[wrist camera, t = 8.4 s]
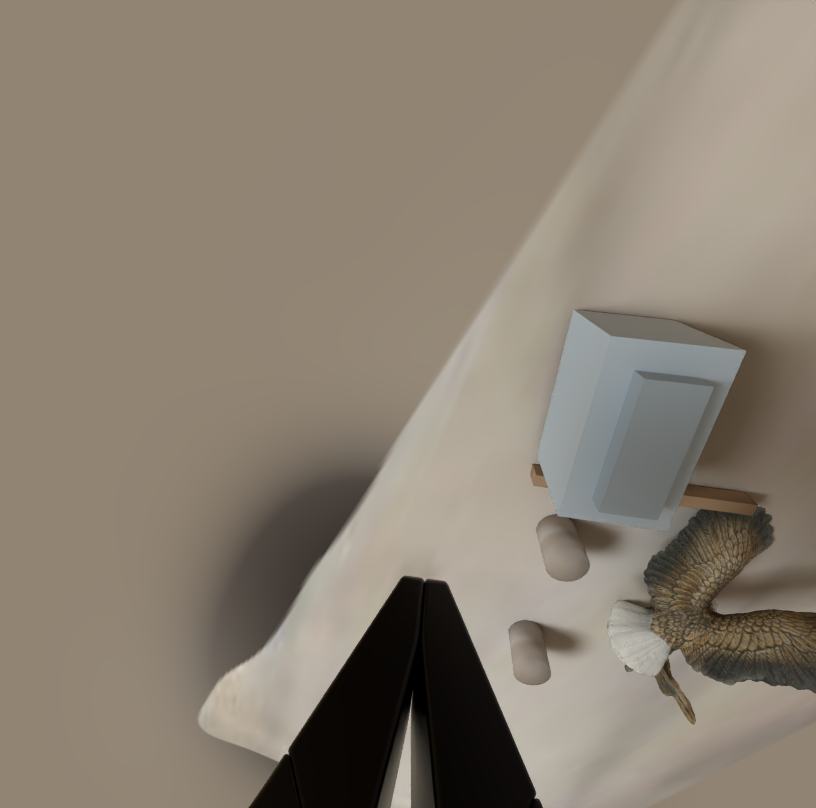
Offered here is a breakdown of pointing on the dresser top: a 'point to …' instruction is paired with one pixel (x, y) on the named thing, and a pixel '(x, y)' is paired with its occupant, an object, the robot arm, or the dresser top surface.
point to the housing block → (631, 416)
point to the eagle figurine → (712, 613)
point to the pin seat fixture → (572, 563)
